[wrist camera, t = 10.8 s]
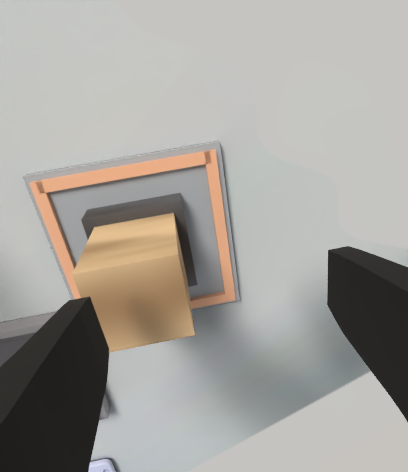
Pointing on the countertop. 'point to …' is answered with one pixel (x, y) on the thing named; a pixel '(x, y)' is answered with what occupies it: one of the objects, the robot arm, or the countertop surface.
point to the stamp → (138, 271)
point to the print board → (137, 188)
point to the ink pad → (19, 332)
